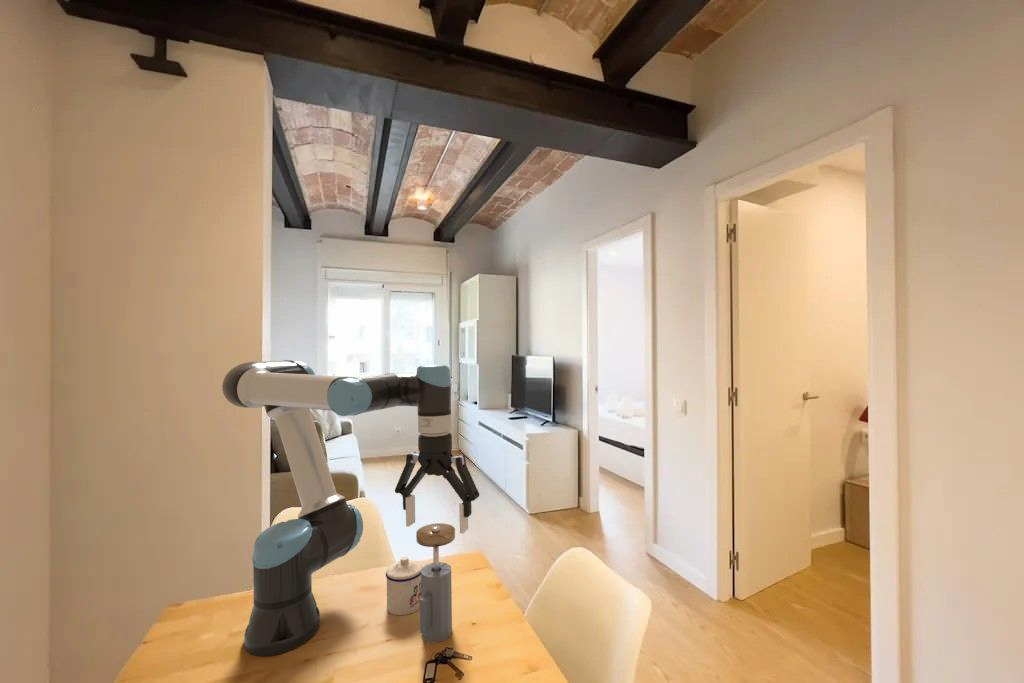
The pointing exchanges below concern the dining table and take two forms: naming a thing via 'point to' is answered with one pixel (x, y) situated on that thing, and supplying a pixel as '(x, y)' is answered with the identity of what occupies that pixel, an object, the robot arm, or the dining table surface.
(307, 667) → the dining table surface
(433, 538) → the plunger
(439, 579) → the cylinder
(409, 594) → the teacup with lid
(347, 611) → the dining table surface
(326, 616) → the dining table surface
